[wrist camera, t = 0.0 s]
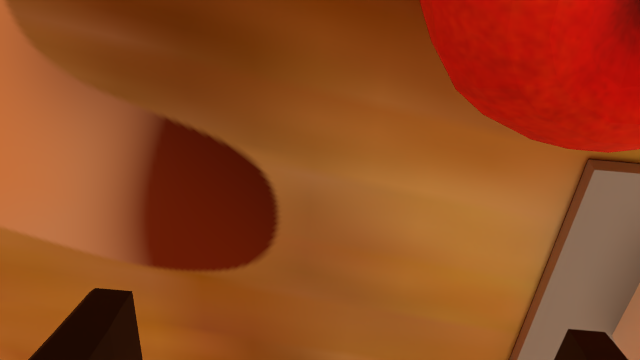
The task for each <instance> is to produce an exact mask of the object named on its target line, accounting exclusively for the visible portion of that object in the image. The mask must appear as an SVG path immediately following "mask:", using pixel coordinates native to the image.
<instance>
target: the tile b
mask: <svg viewBox="0 0 640 360" xmlns="http://www.w3.org/2000/svg"><path fill="white" fill-rule="evenodd" d="M612 337H613V339H614V341H615V344H616V345H617V347H618V348H619V349H620V350H621V351H622V353H623V354H624V355H625V356H626V358H627V359H628V360H640V284H639V285H638V287H637V289H636V291H635V293H634V295H633V297H632V299H631V301H630V302H629V304H628V306H627V308H626V310H625V312H624V314H623V316H622V318H621V319H620V321H619V323H618V325H617V327H616V329H615V331H614V333H613V335H612Z"/></svg>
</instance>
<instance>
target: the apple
mask: <svg viewBox="0 0 640 360" xmlns="http://www.w3.org/2000/svg"><path fill="white" fill-rule="evenodd" d="M420 4H421V7H422V11H423V14H424V18H425V21H426V25H427V28H428V31H429V35H430V38H431V41H432V43H433V45H434V47H435V49H436V51H437V53H438V55H439V57H440V59H441V61H442V63H443V65H444V67H445V69H446V71H447V73H448V75H449V77H450V79H451V81H452V83H453V85H454V87H455V89H456V90H457V91H458V92H459V93H460V94H461V95H463V96H464V97H465V98H466V99H467V100H468V101H469V102H470V103H471V104H472V105H473V106H474V107H475V108H477V109H478V110H479V111H480V112H481V113H482V114H483V115H485V116H487V117H489V118H491V119H493V120H495V121H497V122H499V123H501V124H503V125H504V126H506V127H508V128H510V129H512V130H514V131H516V132H518V133H520V134H522V135H524V136H526V137H528V138H530V139H532V140H536V141H540V142H544V143H547V144H551V145H555V146H559V147H563V148H567V149H576V150H586V151H597V152H608V153H609V152H618V151H627V150H636V149H640V0H420Z"/></svg>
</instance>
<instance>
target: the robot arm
mask: <svg viewBox="0 0 640 360" xmlns="http://www.w3.org/2000/svg"><path fill="white" fill-rule="evenodd" d="M28 360H142V353H141V347H140V340H139V333H138V327H137V320H136V314H135V307H134V301H133V294H132V291H123V290H111V289H99V288H95V289H93V290H92V291H91V292H89V294H88V295H87V296H86V297H85V298H84V299H83V300H82V301H81V303H80V304H79V305H78V306H77V307H76V308H75V309H74V310H73V311H72V313H71V314H70V315H69V316H68V317H67V318H66V319H65V320H64V322H63V323H62V324H61V325H60V326H59V327H58V328H57V329H56V330H55V331H54V333H53V334H52V335H51V336H50V337H49V338H48V339H47V340H46V341H45V342H44V343H43V344H42V346H41V347H40V348H39V349H38V350H37V351H36V352H35V353H34V354H33V355H32V356H31V357H30V358H29V359H28ZM554 360H628V359H627V358H626V356H625V355H624V354H623V353H622V351H621V350H620V349H619V348H618V347H617V345H616V344H615V343H614V342H613V341H612V339H611V338H610V337H609V336H608V335H607V334H606V332H600V331H588V330H576V329H568V330H567V333H566V335H565V337H564V339H563V341H562V343H561V345H560V348H559V350H558V352H557V354H556V356H555V358H554Z"/></svg>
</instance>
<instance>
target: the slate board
mask: <svg viewBox="0 0 640 360" xmlns="http://www.w3.org/2000/svg"><path fill="white" fill-rule="evenodd" d="M639 284H640V164H636V163H625V162H613V161H602V160H590V159H589V160H588V162H587V165H586V167H585V170H584V172H583V175H582V177H581V180H580V182H579V185H578V187H577V190H576V192H575V195H574V198H573V200H572V203H571V205H570V208H569V210H568V213H567V215H566V218H565V220H564V223H563V225H562V228H561V230H560V233H559V235H558V238H557V241H556V243H555V246H554V248H553V251H552V253H551V256H550V258H549V261H548V263H547V266H546V268H545V271H544V273H543V276H542V278H541V281H540V284H539V286H538V289H537V291H536V294H535V296H534V299H533V301H532V304H531V306H530V309H529V311H528V314H527V316H526V319H525V321H524V324H523V327H522V329H521V332H520V334H519V337H518V339H517V342H516V344H515V347H514V349H513V352H512V354H511V357H510V359H509V360H554V358H555V356H556V354H557V352H558V350H559V348H560V345H561V343H562V341H563V339H564V337H565V335H566V333H567V330H568V329H576V330H588V331H600V332H606V334H607V335H608V336H609V337H610V338H611V339H612V341H613V342H614V343H615V341H614V339H613V337H612V335H613V333H614V331H615V329H616V327H617V325H618V323H619V321H620V319H621V318H622V316H623V314H624V312H625V310H626V308H627V306H628V304H629V302H630V301H631V299H632V297H633V295H634V293H635V291H636V289H637V287H638V285H639Z"/></svg>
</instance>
